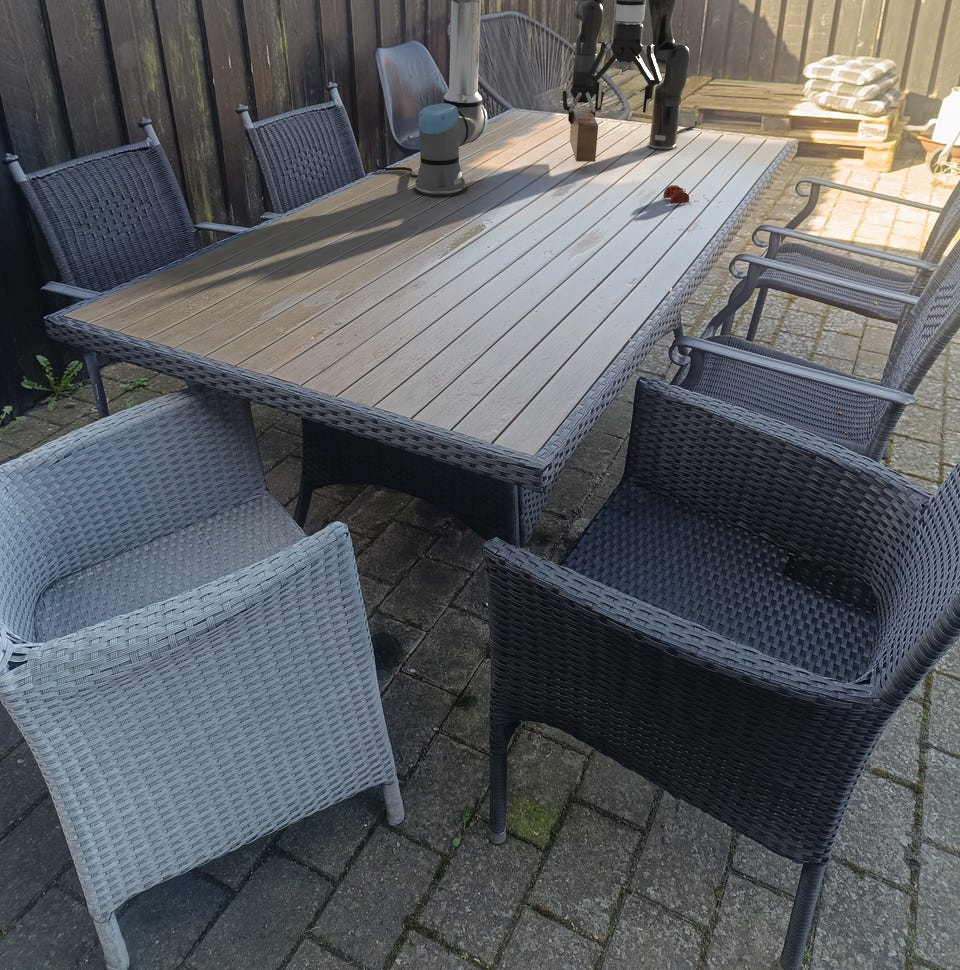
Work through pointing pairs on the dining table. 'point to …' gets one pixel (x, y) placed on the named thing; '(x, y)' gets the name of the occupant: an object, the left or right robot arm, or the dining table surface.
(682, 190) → the dental model
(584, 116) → the box
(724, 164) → the dining table surface
